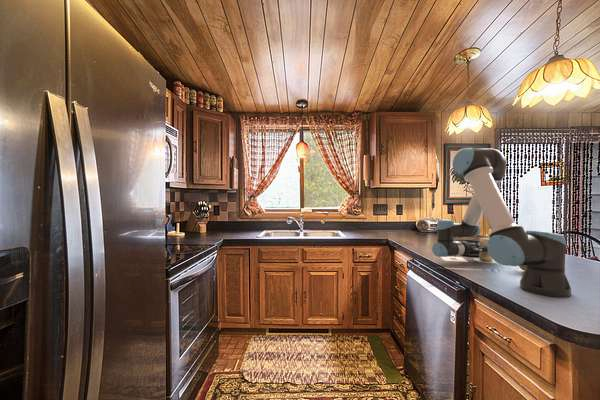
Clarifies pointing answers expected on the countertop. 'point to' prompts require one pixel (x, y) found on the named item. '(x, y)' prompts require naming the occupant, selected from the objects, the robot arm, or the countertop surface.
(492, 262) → the sage pad
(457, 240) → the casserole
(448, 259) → the board
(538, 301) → the countertop surface
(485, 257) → the maple post
